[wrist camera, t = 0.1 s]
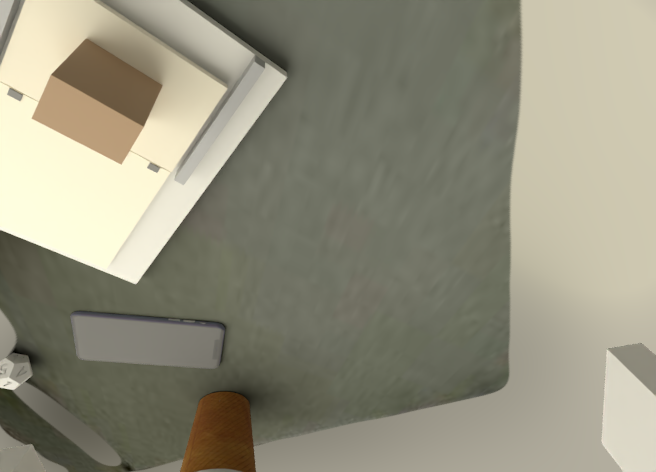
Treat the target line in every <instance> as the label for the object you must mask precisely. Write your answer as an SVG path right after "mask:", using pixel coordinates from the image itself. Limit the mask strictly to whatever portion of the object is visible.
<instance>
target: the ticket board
mask: <svg viewBox="0 0 656 472" xmlns="http://www.w3.org/2000/svg"><path fill="white" fill-rule="evenodd" d="M100 1H102V2H103V3H105V4H106V5H108V6H109V7H111V8H112V9H114V10H115V11H117V12H118V13H120V14H121V15H123V16H124V17H126V18H127V19H129V20H130V21H132V22H133V23H135V24H136V25H138V26H139V27H141V28H142V29H144V30H145V31H147V32H148V33H150V34H151V35H153V36H154V37H156V38H158V39H159V40H161V41H162V42H164V43H165V44H167V45H168V46H170V47H171V48H173V49H174V50H176V51H177V52H179V53H180V54H182V55H183V56H185V57H186V58H188V59H189V60H191V61H192V62H194V63H195V64H197V65H198V66H200V67H201V68H203V69H204V70H206V71H207V72H209V73H210V74H212V75H214V76H215V77H217V78H218V79H220V80H221V81H223V82H224V83H226V84H227V85H228V89H227V90H226V92H225V93H224V95H223V96H222V98H221V99H220V101H219V102H218V104H217V105H216V107H215V108H214V110H213V111H212V113H211V114H210V116H209V117H208V119H207V120H206V122H205V123H204V125H203V126H202V128H201V129H200V131H199V132H198V134H197V135H196V137H195V138H194V140H193V141H192V143H191V144H190V146H189V147H188V149H187V150H186V152H185V153H184V155H183V156H182V158H181V159H180V161H179V162H178V164H177V165H176V167H175V168H174V170H173V171H172V172H170V171H168V170H166V169H165V168H163V167H161V166H159V165H157V164H155V163H153V162H151V161H150V160H148V159H146V158H144V157H142V156H140V155H138V154H136V153H135V152H133V151H131V150H130V151H129V153H128V155H127V156H126V158H125V160H124V161H123V163H122V165H121V164H119V163H117V162H115V161H113V160H111V159H109V158H107V157H105V156H103V155H101V154H99V153H98V152H96V151H94V150H92V149H90V148H88V147H86V146H84V145H82V144H80V143H78V142H76V141H74V140H72V139H70V138H68V137H66V136H64V135H63V134H61V133H59V132H57V131H55V130H53V129H51V128H49V127H47V126H45V125H43V124H41V123H39V122H37V121H35V120H33V119H31V118H32V116H33V114H34V112H35V109H36V107H37V105H38V103H39V101H37V100H35V99H33V98H31V97H29V96H28V95H26V94H24V93H22V92H20V91H18V90H16V89H14V88H13V87H11V86H9V85H7V84H5V83H3V82H1V81H0V230H2V231H5V232H7V233H10V234H12V235H15V236H17V237H20V238H22V239H25V240H27V241H30V242H32V243H35V244H37V245H40V246H42V247H45V248H47V249H50V250H52V251H55V252H57V253H60V254H62V255H65V256H67V257H69V258H72V259H74V260H77V261H79V262H82V263H84V264H87V265H89V266H92V267H94V268H97V269H99V270H102V271H104V272H107V273H109V274H112V275H114V276H117V277H119V278H122V279H124V280H127V281H129V282H132V283H134V284H137V282H138V281H139V279H140V278H141V277H142V275H143V274H144V273H145V271H146V270H147V269H148V267H149V266H150V264H151V263H152V262H153V260H154V259H155V258H156V256H157V255H158V254H159V252H160V251H161V249H162V248H163V247H164V245H165V244H166V243H167V241H168V240H169V238H170V237H171V236H172V234H173V233H174V232H175V230H176V229H177V228H178V226H179V225H180V223H181V222H182V221H183V219H184V218H185V217H186V215H187V214H188V213H189V211H190V210H191V208H192V207H193V206H194V204H195V203H196V202H197V200H198V199H199V197H200V196H201V195H202V193H203V192H204V191H205V189H206V188H207V187H208V185H209V184H210V182H211V181H212V180H213V178H214V177H215V176H216V174H217V173H218V171H219V170H220V169H221V167H222V166H223V165H224V163H225V162H226V161H227V159H228V158H229V156H230V155H231V154H232V152H233V151H234V150H235V148H236V147H237V146H238V144H239V143H240V141H241V140H242V139H243V137H244V136H245V135H246V133H247V132H248V130H249V129H250V128H251V126H252V125H253V124H254V122H255V121H256V120H257V118H258V117H259V115H260V114H261V113H262V111H263V110H264V109H265V107H266V106H267V105H268V103H269V102H270V100H271V99H272V98H273V96H274V95H275V94H276V92H277V91H278V89H279V88H280V87H281V85H282V84H283V83H284V81H285V80H286V79H287V72H286V71H284V70H283V69H282V68H280V67H279V66H277V65H276V64H275V63H273V62H272V61H270V60H269V59H268V58H266V57H265V56H264V55H262V54H261V53H259V52H258V51H257V50H255V49H254V48H252V47H251V46H250V45H248V44H247V43H245V42H244V41H243V40H241V39H240V38H239V37H237V36H236V35H234V34H233V33H232V32H230V31H229V30H227V29H226V28H225V27H223V26H222V25H221V24H219V23H218V22H216V21H215V20H214V19H212V18H211V17H209V16H208V15H207V14H205V13H204V12H202V11H201V10H200V9H198V8H197V7H196V6H194V5H193V4H191V3H190V2H189V1H187V0H100ZM24 2H25V0H0V66H1V63H2V60H3V58H4V55H5V52H6V50H7V47H8V44H9V42H10V39H11V36H12V34H13V31H14V29H15V26H16V23H17V21H18V18H19V15H20V13H21V10H22V7H23V5H24Z"/></svg>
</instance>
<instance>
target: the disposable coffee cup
mask: <svg viewBox="0 0 656 472" xmlns="http://www.w3.org/2000/svg"><path fill="white" fill-rule="evenodd" d="M253 447H254V446H253V438H252V427H251V415H250V405H249V401H248V400H247V399H246V398H245V397H244V396H242V395H240V394H237V393H233V392H216V393H211V394H209V395H206V396H205V397H203V398H202V399H201V400H200V402H199V404H198V408H197V412H196V416H195V419H194V423H193V427H192V430H191V434H190V437H189V441H188V445H187V448H186V452H185V456H184V459H183V463H182V467H181V471H180V472H256V470H255V459H254V449H253Z"/></svg>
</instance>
